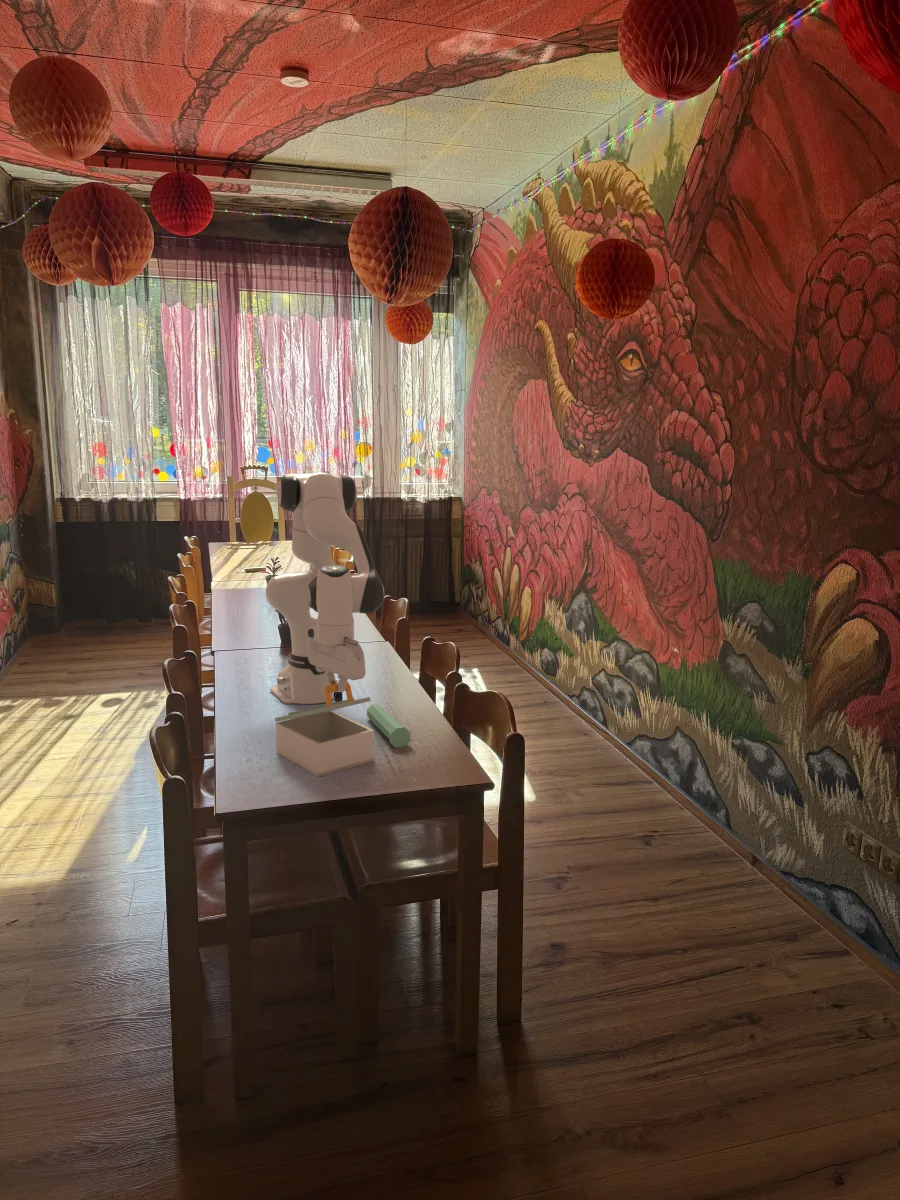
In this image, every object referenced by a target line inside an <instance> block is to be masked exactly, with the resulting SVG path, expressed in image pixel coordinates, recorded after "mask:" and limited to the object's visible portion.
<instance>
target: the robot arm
mask: <svg viewBox="0 0 900 1200" xmlns="http://www.w3.org/2000/svg"><path fill="white" fill-rule="evenodd" d="M275 493H276V497H277V498H276V499H277V501H278V503H279V507H280V508H281V509H282V510H283V511H287V512H290V513H293V518H292V536H291V541H292V542H291V551H292V553H293V556H295V558H296V559H298V560H300V561H302V562H304V563H306V564H308V565H309V570H308V571H299V572H298V571H297V572H286V573H282V574H279V575H276V576H273V577H271V578H270V579H269V580H268V582H267V584H266V588H265V596H266V599H267V601H268V604H269V605H270V606H271V607H272V608H273V609H275V610H276V611H277V612H279V613H280V614H281V615H282V617H284V619H285V620H286V623H287V624H288V628H289V629H290V639H291V641H290V642H291V652H288V657H289V660H288V664H287V665H286V666H285V667H283V669H281V671H279V673H278V674H277V678H276V682H277V685H274V686H272V687H270V688H269V689H270V690H269V691H270V693H272V694H273V695H274V696H275V697H276V698H277V699H279V700H280V701H281V702H283V703H284V704H300V705H301V704H302V705H313V704H315V705H316V704H323V703H326V700H325V695H324V691H323V690H324V687H325V686H327V685H331V684H336V683H338V684H336V690H337V691H338V693H344V692H346V691H345V690H346V688H345V684H346V682H347V681H348V680H351V681H357V680H358V681H359V680H362V679H364V678H365V676H366V673H367V672H366V660H365V652H364V650H363V648H362V646H361V645H360V643H359V641H358V640H356V639H355V619H354V616H353V615H354V614H355V613H356V614H357V613H359V614H371V615H372V614H374V613H375V612H376V611H378V610H379V609H380V608H381V607H382V606H383V604H384V603H385V602H384V601H385V588H384V584H383V582H382V579H381V577H380V575H379V573H378V571H377V569H376V566H375V563H374V560H373V557H372V554H371V551H370V549H369V545H368V543H367V540H366V538H365V537H366V536H365V535H364V532H363V530H362V528H361V526H360V525H359V524H358V523H356V522H355V521H353V519H351V518H350V517H349V515H348V514H347V512H350V511H351V510H353V508H354V507H355V505H356V502H357V499H358V489H357V486H356V482H355V480H354V479H353V478H352V477H351V476H349V475H345V474H339V475H338V474H332V473H328V472H315V473H312V472H311V473H296V474H295V473H294V472H293V473H287V474H284V475H282V477H280V478H279V482H278V483H277V486H276V492H275ZM331 546H333V547H337V548H339V549H342V550H345V551H346V552H348V553H349V554H351V556H352V558H353V560H354V565H355V567H356V570H357V573H351V569H349V567H346V566H345V565H342V564H336V563H335V562H334V559H333V556H332V551H331V548H332V547H331ZM311 609H312V610H313V611H315V612H316V613H318V615H317V618H315V617H313V616H312V615H311V611H310V610H311ZM335 674H336V675H337V679H338V680H336V676H335ZM330 696H331V701H332V700H333V699H335V697H334V693H330Z"/></svg>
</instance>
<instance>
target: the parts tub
mask: <svg viewBox="0 0 900 1200" xmlns="http://www.w3.org/2000/svg"><path fill="white" fill-rule="evenodd" d="M275 737H276V738H275V739H276V741H275V742H276V753H277V754H278V753H279V754H278V755H280V754H281V755H280V756H282V757H283V756H284V758H285V757H286V758H285V759H287V760H289V761H290V760H291V762H292V761H293V762H292V763H294V762H295V763H294V764H295V765H297V764H298V766H299V765H300V766H299V767H301V768H302V767H303V769H304V770H306V771H308V772H309V771H310V772H309V773H311V772H312V774H313V775H314V776H316V775H317V776H316V777H318V778H321V777H323V775H324V776H327V775H330V773H331V774H334V773H338V772H341V771H345V770H348V769H351V768H354V767H358V766H361V765H364V764H369V763H372V762H374V761H375V730H374V729H372V728H370V727H367V726H366V725H363V724H362V723H359V722H357V721H355V720H353V719H350V718H349V717H346V716H344V715H341V714H339V713H337V712H335V711H334V710H331V711H326V712H322V713H318V714H313V715H308V716H303V717H298V718H293V719H288V720H283V721H278V722H275ZM337 771H338V772H337ZM320 776H321V777H320Z"/></svg>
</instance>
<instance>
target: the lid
mask: <svg viewBox="0 0 900 1200" xmlns="http://www.w3.org/2000/svg"><path fill="white" fill-rule="evenodd" d="M336 684H338V682H337V683H336ZM336 684H331V685H327V686H325V687H324V690H323V691H324V695H325V700H326V702H325V704H323V705H318V706H314V707H310V708H305V709H301V710H295V711H292V712H287V714H286V715H283V716H278V717H275V718H274V720H275V723H277V722H281V721H285V720H290V719H294V718H298V717H303V716H308V715H313V714H318V713H322V712H326V711H335V710H338V709H342V708H347V707H351V706H355V705H359V704H360V705H361V704H363V703H368V702H371V701H372V700H371V697H370V696H369V697H364V698H359V699H355V698H354V697H353V692H352V691H353V690H352V687H351V684H350V683H349V681H348V680H347V682H346V684H345V688H346V690H345V691H344V692H345V693H346V699H344V700H341V701H340V700H339V701H336V702H332V700H331V696H330V693H334V692H338V693H339V691H337V690H336Z"/></svg>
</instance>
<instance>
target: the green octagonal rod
mask: <svg viewBox="0 0 900 1200" xmlns="http://www.w3.org/2000/svg"><path fill="white" fill-rule="evenodd" d="M366 716H367V718H368V719H369V720H370V721H371V722H372V723H373V724H374V726H376V728H378V729H379V731H381V733H382V734H383V735H384V736H385V738H388V740H389V744H391V745H392V746H393V748H395V747H398V748H404V747H403V746H406V747H407V746H408V745H409V743H410V742H411V731H409V730H408V729H407V728H406V727H405V726H402V725H401V724H400V723H399V722H398V721H397V720H396V719H395V718H393V716H392V715H391V714H390V713H388V712H387V711H386V710H385V709H384V708H383V707H382V706H381V705H380V704H379V703H373V704H370V705H369V706H368V707H367V709H366Z"/></svg>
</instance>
